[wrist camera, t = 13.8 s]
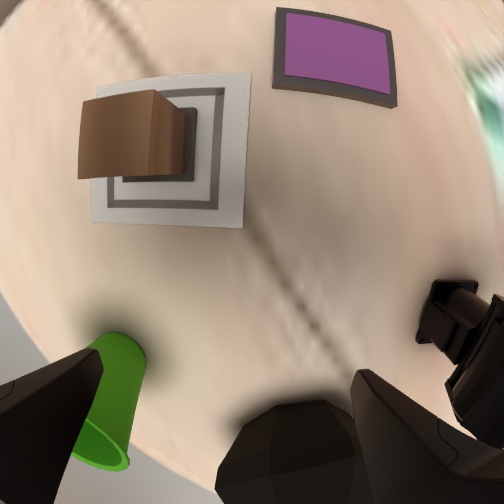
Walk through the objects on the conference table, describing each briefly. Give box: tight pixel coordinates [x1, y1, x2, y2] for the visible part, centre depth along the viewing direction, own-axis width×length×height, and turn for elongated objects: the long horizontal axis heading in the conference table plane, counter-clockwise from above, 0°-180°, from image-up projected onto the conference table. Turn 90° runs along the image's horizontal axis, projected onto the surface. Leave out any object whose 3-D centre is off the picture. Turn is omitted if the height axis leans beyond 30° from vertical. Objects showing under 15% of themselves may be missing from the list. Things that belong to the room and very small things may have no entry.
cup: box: [71, 333, 146, 471], centre depth 17 cm, size 9×9×11 cm
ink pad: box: [272, 7, 397, 109], centre depth 14 cm, size 9×7×1 cm
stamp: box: [78, 89, 198, 183], centre depth 14 cm, size 5×5×7 cm
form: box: [90, 73, 251, 228], centre depth 17 cm, size 12×11×1 cm
